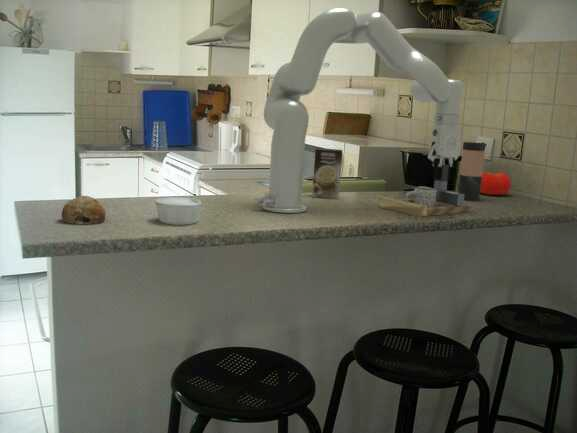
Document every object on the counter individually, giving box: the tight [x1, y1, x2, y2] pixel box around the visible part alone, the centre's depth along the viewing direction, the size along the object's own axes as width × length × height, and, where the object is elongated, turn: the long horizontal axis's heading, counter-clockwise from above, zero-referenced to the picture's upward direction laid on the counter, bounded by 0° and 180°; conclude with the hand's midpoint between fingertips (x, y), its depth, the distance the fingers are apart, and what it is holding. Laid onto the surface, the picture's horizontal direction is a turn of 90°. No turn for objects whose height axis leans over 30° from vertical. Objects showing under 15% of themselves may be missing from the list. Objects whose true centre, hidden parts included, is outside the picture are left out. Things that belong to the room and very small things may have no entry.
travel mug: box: [457, 141, 486, 202], centre depth 222 cm, size 8×8×20 cm
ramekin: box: [155, 197, 202, 226], centre depth 157 cm, size 11×11×5 cm
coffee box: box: [311, 147, 343, 200], centre depth 210 cm, size 9×6×16 cm
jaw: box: [416, 163, 465, 206], centre depth 199 cm, size 3×17×12 cm, turn 35°
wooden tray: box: [378, 196, 474, 218], centre depth 196 cm, size 24×17×3 cm
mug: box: [404, 186, 437, 208], centre depth 194 cm, size 10×7×7 cm, turn 107°
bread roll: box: [61, 195, 106, 226], centre depth 152 cm, size 10×10×8 cm
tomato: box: [480, 171, 512, 197], centre depth 240 cm, size 13×12×8 cm
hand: (441, 178), depth 198 cm, fingers closed on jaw, 2 cm apart
